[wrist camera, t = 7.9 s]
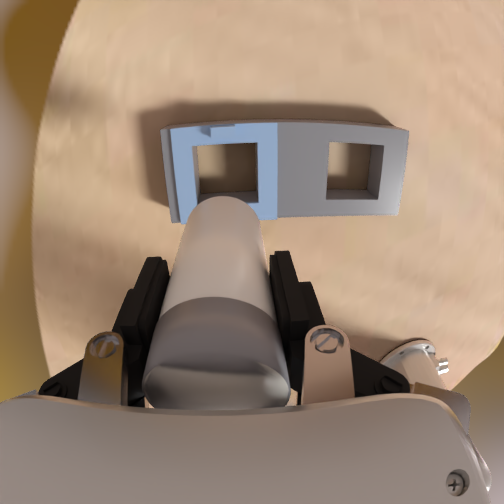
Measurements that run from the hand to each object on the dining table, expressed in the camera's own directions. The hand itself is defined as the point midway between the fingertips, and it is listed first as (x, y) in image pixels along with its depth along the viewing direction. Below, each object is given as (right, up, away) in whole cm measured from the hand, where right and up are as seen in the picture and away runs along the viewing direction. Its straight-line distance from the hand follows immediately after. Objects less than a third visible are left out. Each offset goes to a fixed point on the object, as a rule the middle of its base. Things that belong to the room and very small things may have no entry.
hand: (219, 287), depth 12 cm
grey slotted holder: (+5, +10, +17) cm, 20 cm away
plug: (0, +3, +4) cm, 5 cm away
